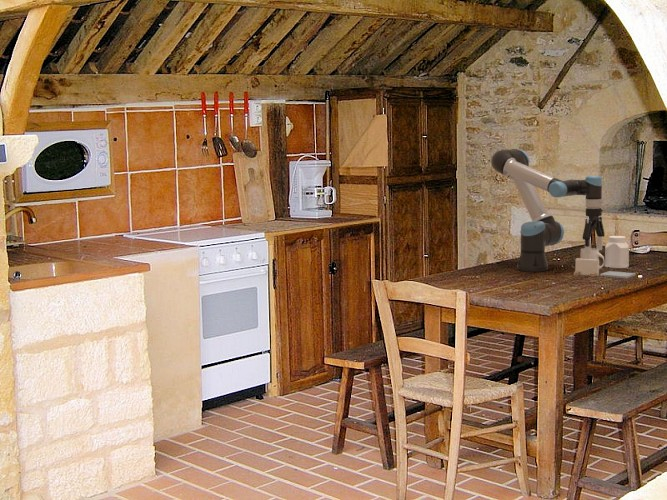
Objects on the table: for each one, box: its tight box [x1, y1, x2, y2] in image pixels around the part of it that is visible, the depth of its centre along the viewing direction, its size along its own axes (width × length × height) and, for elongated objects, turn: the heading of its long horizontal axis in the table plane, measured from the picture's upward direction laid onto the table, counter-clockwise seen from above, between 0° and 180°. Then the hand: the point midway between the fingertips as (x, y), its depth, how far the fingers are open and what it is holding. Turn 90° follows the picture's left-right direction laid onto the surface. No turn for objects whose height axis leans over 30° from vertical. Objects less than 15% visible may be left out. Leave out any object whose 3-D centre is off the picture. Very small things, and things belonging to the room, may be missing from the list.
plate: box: [599, 270, 637, 280], centre depth 444 cm, size 13×11×1 cm
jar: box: [604, 235, 630, 269], centre depth 471 cm, size 12×10×15 cm
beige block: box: [573, 257, 600, 278], centre depth 446 cm, size 11×5×8 cm, turn 51°
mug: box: [579, 247, 605, 270], centre depth 458 cm, size 9×12×11 cm
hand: (593, 251), depth 457 cm, fingers open, 13 cm apart
